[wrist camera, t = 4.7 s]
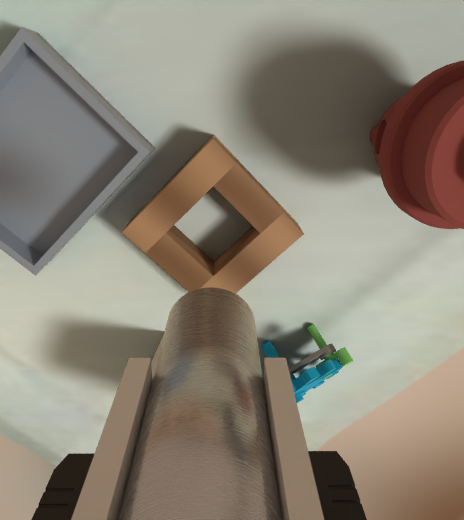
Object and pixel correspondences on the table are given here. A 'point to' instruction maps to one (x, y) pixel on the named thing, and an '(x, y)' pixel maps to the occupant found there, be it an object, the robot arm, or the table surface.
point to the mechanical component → (426, 149)
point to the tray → (55, 150)
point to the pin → (205, 420)
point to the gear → (313, 375)
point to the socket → (239, 196)
